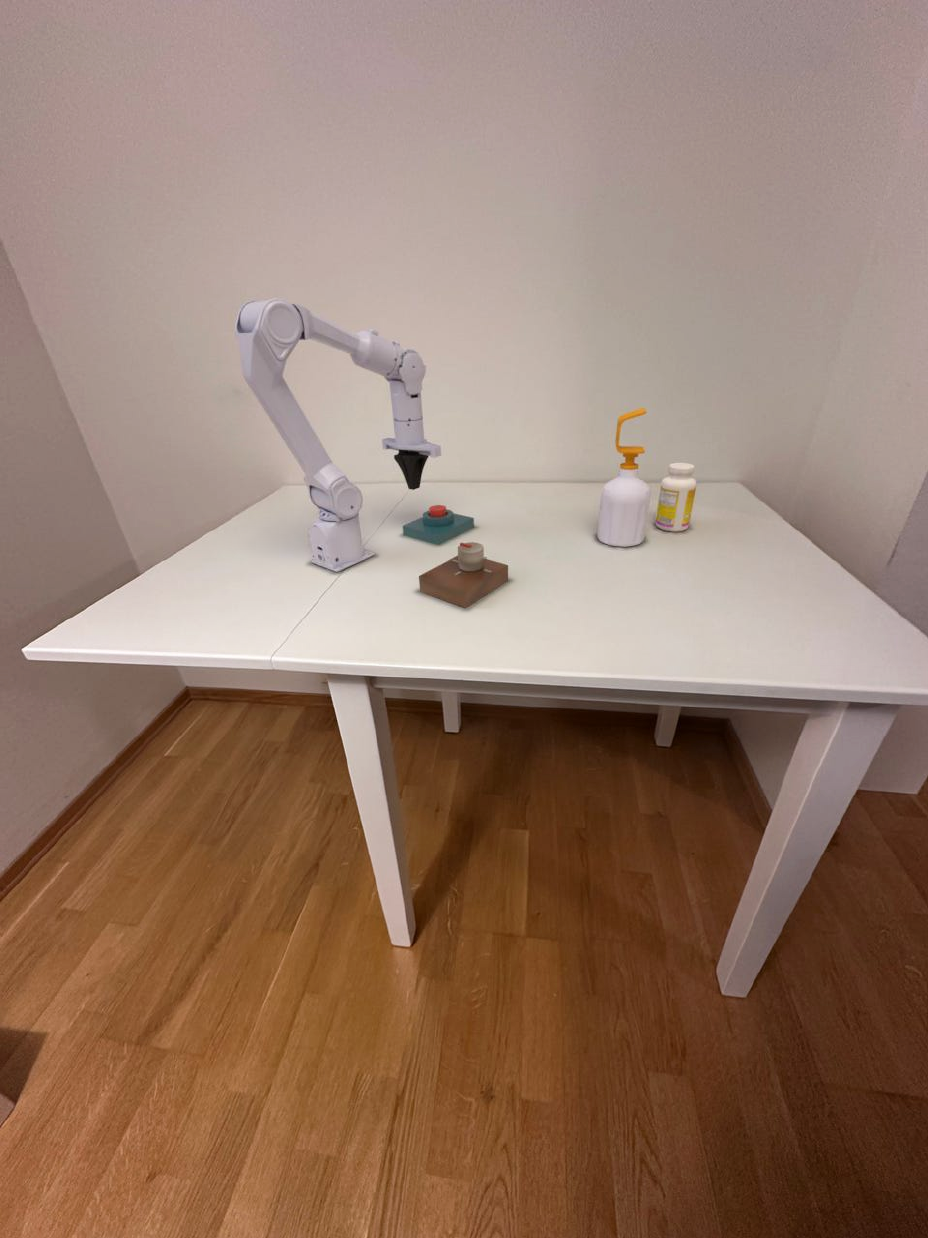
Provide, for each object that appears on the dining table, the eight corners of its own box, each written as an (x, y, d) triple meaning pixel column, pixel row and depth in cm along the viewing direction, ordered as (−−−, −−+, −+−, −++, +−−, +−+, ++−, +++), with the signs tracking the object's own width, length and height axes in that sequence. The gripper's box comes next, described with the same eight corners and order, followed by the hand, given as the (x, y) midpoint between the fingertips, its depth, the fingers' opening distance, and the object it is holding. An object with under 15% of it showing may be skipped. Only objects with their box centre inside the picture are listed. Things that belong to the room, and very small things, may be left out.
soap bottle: (645, 548, 99) (666, 413, 86) (597, 546, 100) (610, 414, 88) (641, 531, 106) (660, 405, 94) (596, 530, 108) (608, 405, 95)
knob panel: (465, 608, 82) (464, 591, 80) (420, 591, 87) (418, 575, 86) (509, 579, 90) (509, 563, 88) (465, 566, 95) (464, 550, 94)
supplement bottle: (683, 521, 110) (695, 460, 104) (692, 532, 105) (704, 469, 98) (651, 521, 111) (660, 461, 104) (658, 532, 105) (668, 470, 99)
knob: (489, 564, 88) (488, 544, 86) (473, 573, 86) (472, 552, 84) (469, 558, 91) (468, 538, 89) (453, 567, 88) (452, 547, 86)
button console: (438, 545, 105) (436, 526, 102) (403, 535, 110) (401, 517, 108) (474, 527, 112) (473, 509, 110) (440, 518, 118) (439, 502, 116)
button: (438, 519, 107) (438, 511, 106) (426, 516, 109) (425, 508, 108) (449, 514, 110) (449, 506, 109) (437, 511, 112) (436, 503, 111)
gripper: (449, 418, 97) (453, 488, 104) (396, 412, 106) (403, 478, 112) (424, 424, 93) (429, 497, 100) (371, 418, 101) (379, 486, 108)
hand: (414, 488), depth 106 cm, fingers closed
